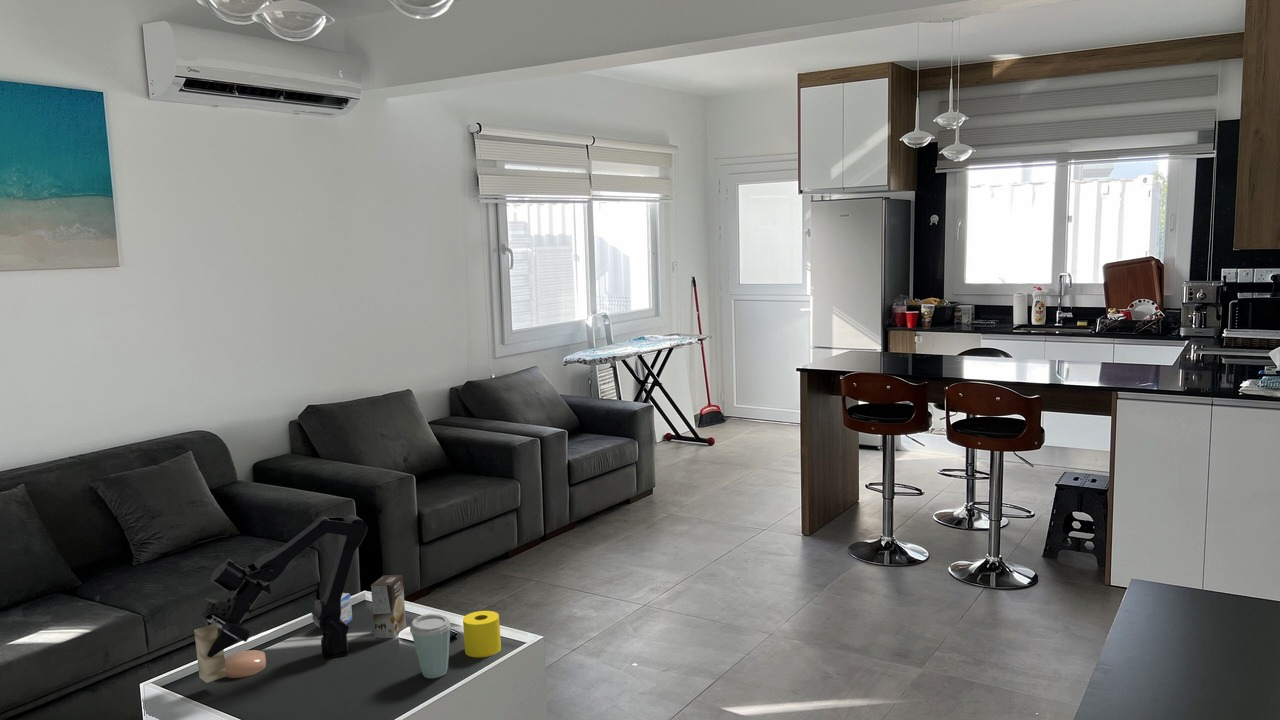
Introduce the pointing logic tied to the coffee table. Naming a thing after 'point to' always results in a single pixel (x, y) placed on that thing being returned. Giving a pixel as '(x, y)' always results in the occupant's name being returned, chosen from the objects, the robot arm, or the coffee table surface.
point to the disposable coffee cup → (432, 643)
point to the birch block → (207, 665)
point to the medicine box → (346, 608)
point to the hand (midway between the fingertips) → (204, 653)
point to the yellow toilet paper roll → (482, 633)
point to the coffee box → (388, 606)
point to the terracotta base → (245, 663)
